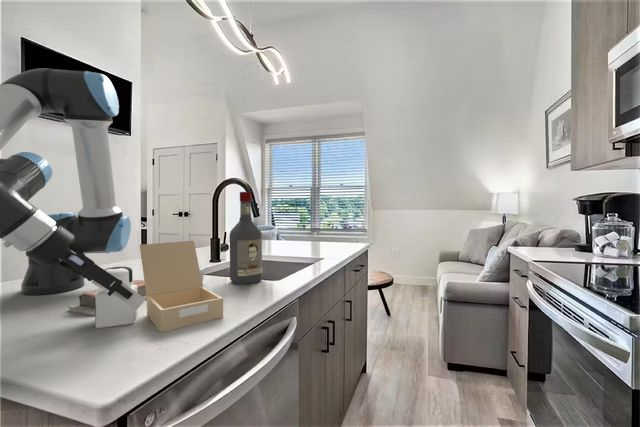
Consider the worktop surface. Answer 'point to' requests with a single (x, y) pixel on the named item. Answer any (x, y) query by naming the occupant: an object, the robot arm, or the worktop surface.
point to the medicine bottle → (115, 302)
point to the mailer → (176, 286)
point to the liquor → (245, 246)
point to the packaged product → (89, 299)
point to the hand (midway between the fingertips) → (129, 298)
